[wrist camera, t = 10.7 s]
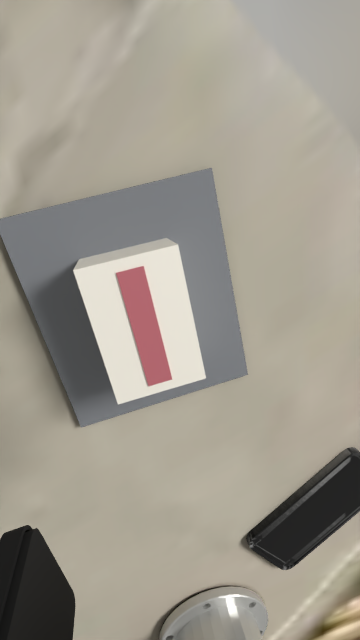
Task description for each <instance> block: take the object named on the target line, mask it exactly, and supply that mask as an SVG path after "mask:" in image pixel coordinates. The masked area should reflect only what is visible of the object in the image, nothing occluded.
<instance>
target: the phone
mask: <svg viewBox="0 0 360 640" xmlns="http://www.w3.org/2000/svg"><path fill="white" fill-rule="evenodd" d="M359 511H360V452H359V451H358V450H357V449H356V448H353V447H352V448H347V449H345V450H344V451H342V452H341V453H340V454H339V455H338V456H337V457H336V458H334V459H333V460H332V461H331V462H330V463H329V464H327V465H326V466H325V467H324V468H323V469H322V470H320V471H319V472H318V473H317V474H316V475H315V476H314V477H312V478H311V479H310V480H309V481H308V482H307V483H305V484H304V485H303V486H302V487H301V488H300V489H298V490H297V491H296V492H295V493H294V494H293V495H292V496H290V497H289V498H288V499H287V500H286V501H285V502H283V503H282V504H281V505H280V506H279V507H278V508H277V509H275V510H274V511H273V512H272V513H271V514H270V515H268V516H267V517H266V518H265V519H264V520H263V521H261V522H260V523H259V524H258V525H257V526H256V527H255V528H253V529H252V530H251V531H250V532H249V533H248V535H247V538H246V539H247V542H248V544H249V547H250V548H251V549H252V550H253V551H255V552H256V553H258V554H259V555H261V556H262V557H264V558H265V559H267V560H268V561H270V562H271V563H273V564H274V565H276V566H277V567H279V568H280V569H282V570H288V569H291V568H292V567H294V566H295V565H296V564H298V563H299V562H300V561H301V560H302V559H304V558H305V557H306V556H307V555H308V554H309V553H311V552H312V551H313V550H314V549H315V548H317V547H318V546H319V545H320V544H321V543H323V542H324V541H325V540H326V539H327V538H328V537H330V536H331V535H332V534H333V533H334V532H336V531H337V530H338V529H339V528H340V527H342V526H343V525H344V524H345V523H346V522H347V521H349V520H350V519H351V518H352V517H353V516H355V515H356V514H357V513H358V512H359Z"/></svg>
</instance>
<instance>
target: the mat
mask: <svg viewBox="0 0 360 640" xmlns="http://www.w3.org/2000/svg"><path fill="white" fill-rule="evenodd" d="M0 235H1V237H2V240H3V242H4V245H5V247H6V249H7V252H8V254H9V257H10V259H11V261H12V264H13V266H14V268H15V271H16V273H17V276H18V278H19V280H20V283H21V285H22V288H23V290H24V292H25V295H26V297H27V299H28V302H29V304H30V307H31V309H32V311H33V314H34V316H35V319H36V321H37V323H38V326H39V328H40V330H41V333H42V335H43V338H44V340H45V342H46V345H47V347H48V350H49V352H50V354H51V357H52V359H53V361H54V364H55V366H56V369H57V371H58V373H59V376H60V378H61V381H62V383H63V385H64V388H65V390H66V392H67V395H68V397H69V400H70V402H71V404H72V407H73V409H74V412H75V414H76V416H77V419H78V421H79V423H80V426H81V427H84V426H87V425H91V424H94V423H97V422H100V421H103V420H106V419H109V418H113V417H116V416H119V415H122V414H125V413H128V412H132V411H135V410H138V409H141V408H144V407H147V406H150V405H154V404H157V403H160V402H163V401H166V400H169V399H173V398H176V397H179V396H182V395H185V394H188V393H191V392H195V391H198V390H201V389H204V388H207V387H210V386H214V385H217V384H220V383H223V382H226V381H229V380H232V379H236V378H239V377H242V376H245V375H248V373H247V367H246V361H245V356H244V350H243V344H242V338H241V333H240V327H239V321H238V315H237V310H236V304H235V298H234V293H233V287H232V281H231V275H230V270H229V264H228V258H227V252H226V247H225V241H224V235H223V230H222V224H221V218H220V212H219V207H218V201H217V195H216V189H215V184H214V178H213V172H212V168H209V169H205V170H201V171H196V172H192V173H188V174H184V175H180V176H176V177H172V178H167V179H163V180H159V181H155V182H151V183H147V184H142V185H138V186H134V187H130V188H126V189H122V190H118V191H113V192H109V193H105V194H101V195H97V196H93V197H89V198H84V199H80V200H76V201H72V202H68V203H64V204H60V205H55V206H51V207H47V208H43V209H39V210H35V211H31V212H26V213H22V214H18V215H14V216H10V217H6V218H2V219H0ZM164 238H168V239H169V240H171V241H173V242H175V243H176V244H178V246H179V251H180V256H181V261H182V266H183V270H184V275H185V280H186V285H187V289H188V294H189V299H190V304H191V308H192V313H193V318H194V323H195V328H196V332H197V337H198V342H199V347H200V351H201V356H202V361H203V366H204V370H205V375H206V379H202V380H199V381H196V382H192V383H189V384H185V385H182V386H179V387H175V388H172V389H169V390H165V391H162V392H159V393H155V394H152V395H149V396H145V397H142V398H138V399H135V400H132V401H128V402H125V403H122V404H118V403H117V400H116V397H115V394H114V391H113V388H112V385H111V382H110V379H109V376H108V373H107V370H106V367H105V364H104V361H103V358H102V355H101V352H100V349H99V346H98V343H97V340H96V337H95V334H94V331H93V328H92V325H91V322H90V319H89V316H88V313H87V310H86V307H85V304H84V301H83V298H82V295H81V292H80V289H79V286H78V283H77V280H76V278H75V275H74V272H73V270H74V268H75V266H76V264H77V262H78V260H79V259H82V258H86V257H90V256H94V255H98V254H103V253H107V252H111V251H115V250H119V249H123V248H127V247H131V246H135V245H140V244H144V243H148V242H152V241H156V240H160V239H164Z"/></svg>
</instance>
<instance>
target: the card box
mask: <svg viewBox="0 0 360 640" xmlns="http://www.w3.org/2000/svg"><path fill="white" fill-rule="evenodd" d="M73 272H74V275H75V278H76V280H77V283H78V286H79V289H80V292H81V295H82V298H83V301H84V304H85V307H86V310H87V313H88V316H89V319H90V322H91V325H92V328H93V331H94V334H95V337H96V340H97V343H98V346H99V349H100V352H101V355H102V358H103V361H104V364H105V367H106V370H107V373H108V376H109V379H110V382H111V385H112V388H113V391H114V394H115V397H116V400H117V403H118V404H122V403H125V402H128V401H132V400H135V399H138V398H142V397H145V396H149V395H152V394H155V393H159V392H162V391H165V390H169V389H172V388H175V387H179V386H182V385H185V384H189V383H192V382H196V381H199V380H202V379H206V375H205V370H204V366H203V361H202V356H201V351H200V347H199V342H198V337H197V332H196V328H195V323H194V318H193V313H192V308H191V304H190V299H189V294H188V289H187V285H186V280H185V275H184V270H183V266H182V261H181V256H180V251H179V246H178V244H176V243H175V242H173V241H171V240H169V239H168V238H164V239H160V240H156V241H152V242H148V243H144V244H140V245H135V246H131V247H127V248H123V249H119V250H115V251H111V252H107V253H103V254H98V255H94V256H90V257H86V258H82V259H79V260H78V262H77V264H76V266H75V268H74V270H73Z"/></svg>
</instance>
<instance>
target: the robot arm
mask: <svg viewBox="0 0 360 640" xmlns="http://www.w3.org/2000/svg"><path fill="white" fill-rule="evenodd" d="M74 616H75V597H74V593H73V590H72V588H71V587H70V585H69V583H68V581H67V579H66V578H65V576H64V574H63V572H62V570H61V569H60V567H59V565H58V563H57V562H56V560H55V558H54V556H53V554H52V553H51V551H50V549H49V547H48V545H47V544H46V542H45V540H44V538H43V536H42V535H41V533H40V531H39V530H38V529H37V528H36V529H32V528H31V527H30V526H29V525H26V526H23V527H20V528H17V529H15V530H12V531H9V532H6V533H4V534H3V535H2V537H1V540H0V640H72V639H73V628H74ZM267 623H268V612H267V610H266V607H265V604H264V602H263V600H262V598H261V597H260V596H259V595H258V594H257V593H255V592H253V591H251V590H249V589H246V588H242V587H233V586H230V587H220V588H215V589H211V590H208V591H205V592H202V593H200V594H198V595H196V596H194V597H192V598H190V599H188V600H187V601H185V602H184V603H182V604H181V605H180V606H179V607H177V608H176V609H175V610H174V611H173V612H172V613H171V614H170V616H169V617H168V618H167V619H166V621H165V623H164V624H163V626H162V629H161V632H160V638H159V640H263V639H262V636H263V634H264V632H265V630H266V627H267Z"/></svg>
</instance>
